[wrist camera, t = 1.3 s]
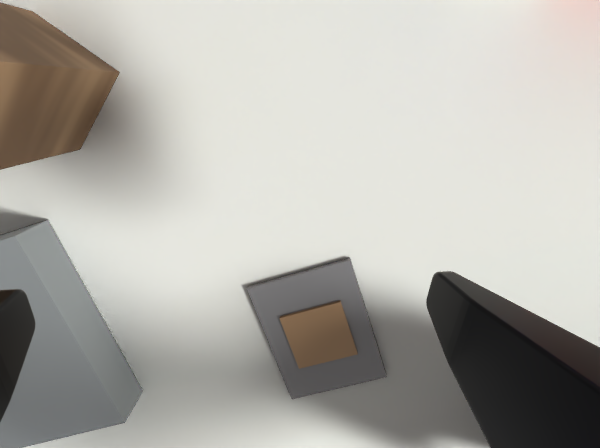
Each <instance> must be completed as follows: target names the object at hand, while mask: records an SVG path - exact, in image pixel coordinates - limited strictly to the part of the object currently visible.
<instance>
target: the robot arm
mask: <svg viewBox="0 0 600 448" xmlns="http://www.w3.org/2000/svg"><path fill="white" fill-rule="evenodd" d="M427 308H428V311H429V314H430V317H431V319H432V322H433V325H434V327H435V330H436V333H437V335H438V338H439V340H440V343H441V346H442V348H443V351H444V354H445V356H446V359H447V361H448V363H449V366H450V368H451V370H452V372H453V374H454V376H455V378H456V380H457V382H458V384H459V386H460V388H461V390H462V392H463V394H464V396H465V398H466V400H467V402H468V404H469V406H470V408H471V410H472V412H473V414H474V416H475V418H476V420H477V422H478V424H479V426H480V428H481V430H482V432H483V434H484V436H485V437H486V439H487V441H488V443H489V445H490V447H491V448H600V347H598V346H596V345H594V344H592V343H590V342H588V341H586V340H584V339H582V338H580V337H578V336H576V335H575V334H573V333H571V332H569V331H567V330H565V329H563V328H561V327H559V326H557V325H555V324H553V323H551V322H549V321H547V320H545V319H544V318H542V317H540V316H538V315H536V314H534V313H532V312H530V311H528V310H526V309H524V308H522V307H520V306H518V305H516V304H514V303H513V302H511V301H509V300H507V299H505V298H503V297H501V296H499V295H497V294H495V293H493V292H491V291H489V290H487V289H485V288H484V287H482V286H480V285H478V284H476V283H474V282H472V281H470V280H468V279H466V278H464V277H462V276H460V275H458V274H456V273H454V272H451V271H447V272H437V273H435V274H434V275H433V278H432V282H431V285H430V289H429V292H428V296H427ZM35 325H36V323H35V318H34V315H33V312H32V309H31V306H30V303H29V300H28V297H27V294H26V293H25V291H23V290H21V289H7V290H0V422H1V420H2V418H3V416H4V414H5V412H6V409H7V407H8V405H9V403H10V400H11V398H12V395H13V392H14V390H15V387H16V384H17V381H18V378H19V375H20V372H21V370H22V367H23V364H24V361H25V358H26V355H27V352H28V349H29V346H30V343H31V340H32V338H33V335H34V331H35Z"/></svg>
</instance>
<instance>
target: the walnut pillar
mask: <svg viewBox="0 0 600 448" xmlns="http://www.w3.org/2000/svg"><path fill="white" fill-rule="evenodd" d="M119 73H120V72H119V71H117V70H116V69H114V68H113V67H111V66H110V65H109V64H107V63H106V62H104V61H103V60H101V59H100V58H99V57H97V56H96V55H94V54H93V53H91V52H90V51H88V50H87V49H86V48H84V47H83V46H81V45H80V44H78V43H77V42H76V41H74V40H73V39H71V38H70V37H68V36H67V35H66V34H64V33H63V32H61V31H60V30H58V29H57V28H56V27H54V26H53V25H51V24H50V23H48V22H47V21H45V20H44V19H43V18H41V17H40V16H38V15H37V14H35V13H34V12H32V11H29V10H25V9H22V8H18V7H14V6H11V5H7V4H4V3H0V170H1V169H4V168H8V167H12V166H16V165H20V164H24V163H28V162H32V161H36V160H40V159H44V158H48V157H52V156H56V155H60V154H64V153H68V152H72V151H76V150H80V149H81V147H82V145H83V143H84V141H85V139H86V137H87V135H88V133H89V131H90V129H91V127H92V125H93V123H94V121H95V119H96V118H97V116H98V114H99V112H100V110H101V108H102V106H103V104H104V102H105V100H106V98H107V96H108V94H109V92H110V90H111V88H112V86H113V84H114V82H115V80H116V79H117V77H118V75H119Z"/></svg>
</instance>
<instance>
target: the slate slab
mask: <svg viewBox="0 0 600 448" xmlns="http://www.w3.org/2000/svg"><path fill="white" fill-rule="evenodd" d="M7 289H21V290H23V291H25V293H26V294H27V297H28V300H29V303H30V306H31V309H32V312H33V315H34V318H35V323H36V325H35V331H34V335H33V338H32V340H31V343H30V346H29V349H28V352H27V355H26V358H25V361H24V364H23V367H22V370H21V372H20V375H19V378H18V381H17V384H16V387H15V390H14V392H13V395H12V398H11V400H10V403H9V405H8V407H7V409H6V412H5V414H4V416H3V418H2V420H1V422H0V448H22V447H26V446H31V445H35V444H39V443H43V442H47V441H51V440H55V439H60V438H64V437H68V436H72V435H76V434H80V433H84V432H89V431H93V430H97V429H101V428H105V427H109V426H113V425H117V424H122V423H125V422H126V420H127V418H128V416H129V415H130V413H131V411H132V409H133V408H134V406H135V404H136V402H137V401H138V399H139V397H140V395H141V394H142V392H143V390H142V388H141V387H140V385H139V383H138V381H137V379H136V377H135V376H134V374H133V372H132V370H131V368H130V367H129V365H128V363H127V361H126V359H125V358H124V356H123V354H122V352H121V350H120V349H119V347H118V345H117V343H116V341H115V340H114V338H113V336H112V334H111V332H110V331H109V329H108V327H107V325H106V323H105V322H104V320H103V318H102V316H101V314H100V313H99V311H98V309H97V307H96V305H95V303H94V302H93V300H92V298H91V296H90V294H89V293H88V291H87V289H86V287H85V285H84V284H83V282H82V280H81V278H80V276H79V275H78V273H77V271H76V269H75V267H74V266H73V264H72V262H71V260H70V258H69V257H68V255H67V253H66V251H65V249H64V248H63V246H62V244H61V242H60V240H59V239H58V237H57V235H56V233H55V231H54V229H53V228H52V226H51V224H50V222H49V220H46V221H43V222H40V223H37V224H34V225H31V226H28V227H25V228H22V229H19V230H16V231H12V232H9V233H6V234H3V235H0V290H7Z"/></svg>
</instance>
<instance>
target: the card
mask: <svg viewBox="0 0 600 448" xmlns="http://www.w3.org/2000/svg"><path fill="white" fill-rule="evenodd" d="M247 291H248V294H249V296H250V298H251V301H252V303H253V306H254V308H255V311H256V313H257V315H258V318H259V320H260V323H261V325H262V328H263V330H264V332H265V335H266V337H267V340H268V342H269V345H270V347H271V349H272V352H273V354H274V357H275V359H276V362H277V364H278V367H279V369H280V371H281V374H282V376H283V379H284V381H285V384H286V386H287V388H288V391H289V393H290V396H291V398H292V399H295V398H299V397H304V396H308V395H312V394H316V393H321V392H325V391H329V390H333V389H338V388H342V387H346V386H350V385H355V384H359V383H363V382H367V381H371V380H376V379H380V378H384V377H387V376H386V372H385V369H384V366H383V363H382V359H381V356H380V353H379V350H378V347H377V343H376V340H375V337H374V334H373V330H372V327H371V324H370V321H369V318H368V314H367V311H366V308H365V305H364V301H363V298H362V295H361V292H360V288H359V285H358V282H357V279H356V276H355V272H354V269H353V266H352V263H351V259H350V258H348V259H344V260H341V261H337V262H334V263H330V264H326V265H323V266H319V267H316V268H312V269H309V270H305V271H301V272H298V273H294V274H291V275H287V276H284V277H280V278H276V279H273V280H269V281H266V282H262V283H259V284H255V285H252V286H248V287H247Z"/></svg>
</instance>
